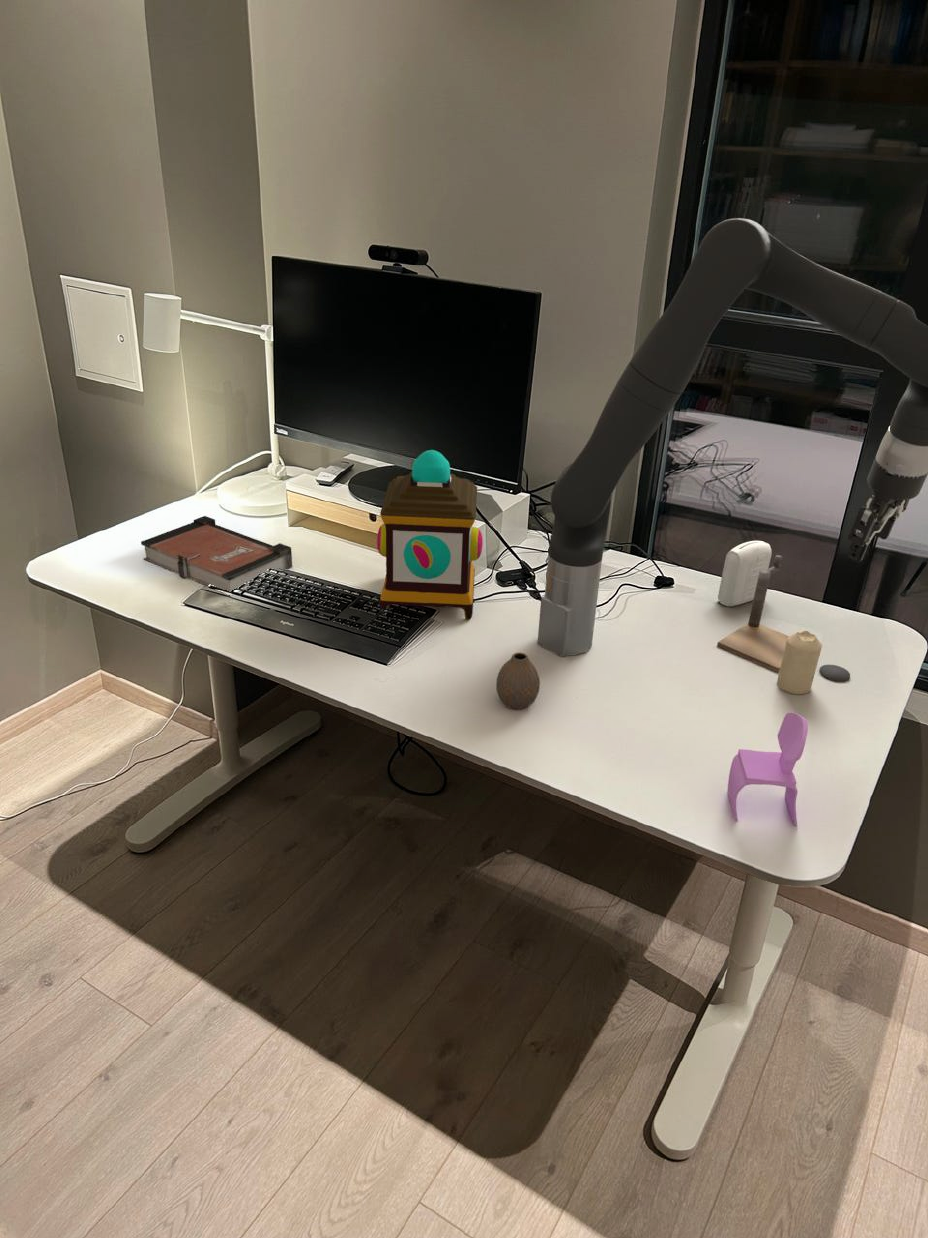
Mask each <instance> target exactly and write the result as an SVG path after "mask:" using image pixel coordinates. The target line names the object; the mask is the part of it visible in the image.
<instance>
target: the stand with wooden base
mask: <svg viewBox="0 0 928 1238" xmlns="http://www.w3.org/2000/svg"><path fill="white" fill-rule="evenodd" d="M773 561H774V562H773V566H771V567H768V570H760V571H759V576H758V580H757V585H756V590H755V594H754V599H753V600H752V605H751V608H750V609H751V610H750V614H749V619H748V622H747V623H746V624H744V625H742V627H740V628H738V629H737V630H735V631H733V632H732V633H730V634H729V635H727V636H725V637H723V638H722V639H720V640H718V641H717V645H716V646H717V647H719V648H722V649H724V650H725V651H728V652H730V653H732V654H735V655H738V656H740V657H742V658H744V659H747V660H749V661H751V662H753V663H756V664H758V665H760V666H763V667H765V668H767V669H769V670H771V671H774V672H776V673H779V671H780V666H781V662H782V658H783V654H784V650H785V646H786V642H787V638H788V637H789V636H790V635H787V634H785V633H782V632H779V631H777V630H774V629H773V628H770V627H767V626H765V625H762V624H760V623H761V618H762V614H763V611H764V610H763V609H764V605H765V602H766V596H767V592H768V588H769V583H770V578H771V576H772V575H774V574H776V573H777V572H779V570H780V568H781V564H782V561H783V556H782V555H778V554H776V555H775V557H774V560H773Z"/></svg>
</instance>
